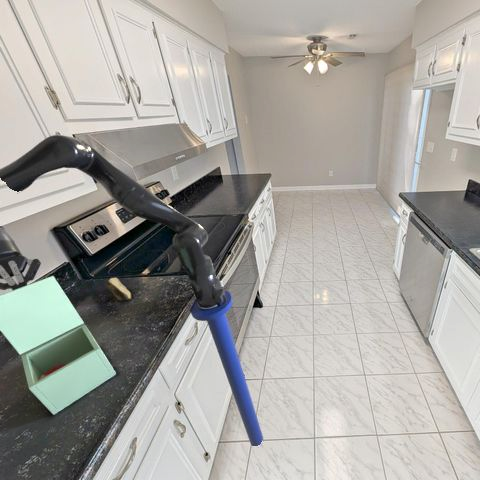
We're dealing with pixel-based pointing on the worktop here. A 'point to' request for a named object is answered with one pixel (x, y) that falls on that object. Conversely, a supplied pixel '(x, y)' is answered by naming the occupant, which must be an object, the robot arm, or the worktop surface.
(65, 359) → the chest
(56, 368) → the onion
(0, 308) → the lid
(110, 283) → the rock
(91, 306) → the worktop surface
